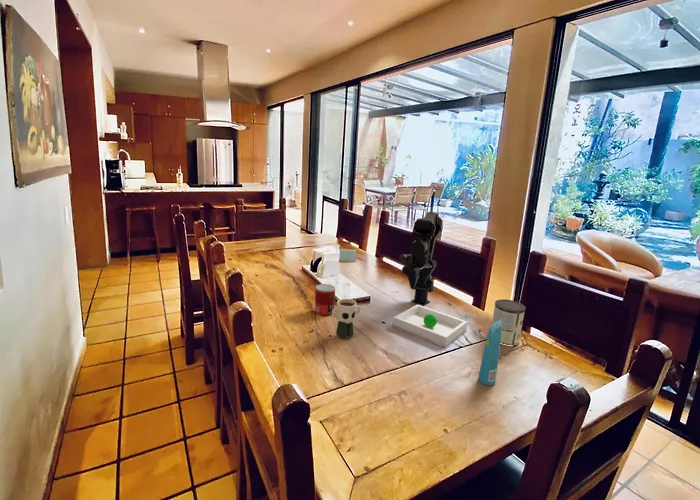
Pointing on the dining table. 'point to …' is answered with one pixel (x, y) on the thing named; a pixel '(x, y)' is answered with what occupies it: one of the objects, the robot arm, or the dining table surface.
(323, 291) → the canned food
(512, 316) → the coffee can
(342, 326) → the character mug
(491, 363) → the tube
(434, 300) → the dining table surface
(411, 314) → the white tray
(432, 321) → the polyhedron
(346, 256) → the l-shaped corner panel
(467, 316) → the dining table surface
